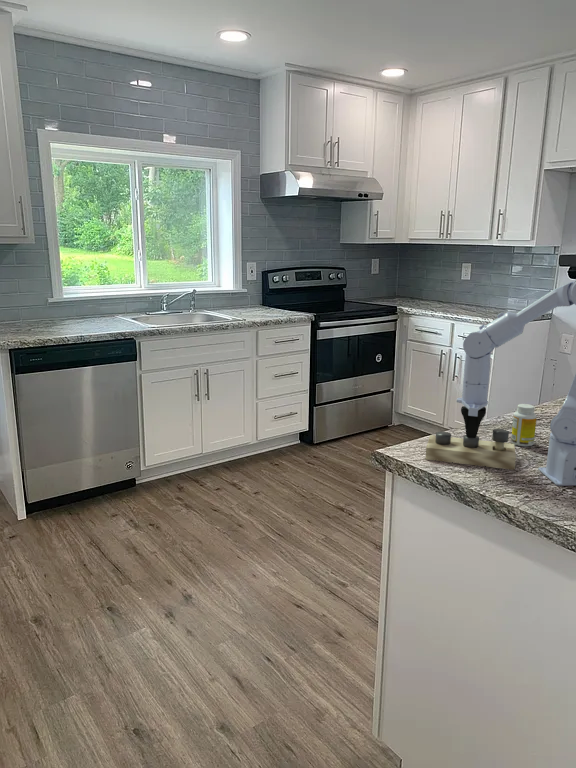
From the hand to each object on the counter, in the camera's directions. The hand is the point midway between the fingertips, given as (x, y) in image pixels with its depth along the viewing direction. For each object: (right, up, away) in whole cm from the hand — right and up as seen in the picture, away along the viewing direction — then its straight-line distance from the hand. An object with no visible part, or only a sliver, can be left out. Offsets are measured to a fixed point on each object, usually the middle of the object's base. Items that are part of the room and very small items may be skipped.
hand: (471, 437), depth 138 cm
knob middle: (0, -5, +1) cm, 5 cm away
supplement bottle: (+17, -3, +11) cm, 20 cm away
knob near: (+6, -3, -1) cm, 7 cm away
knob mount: (0, -5, +1) cm, 5 cm away
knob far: (-6, -4, +3) cm, 8 cm away
